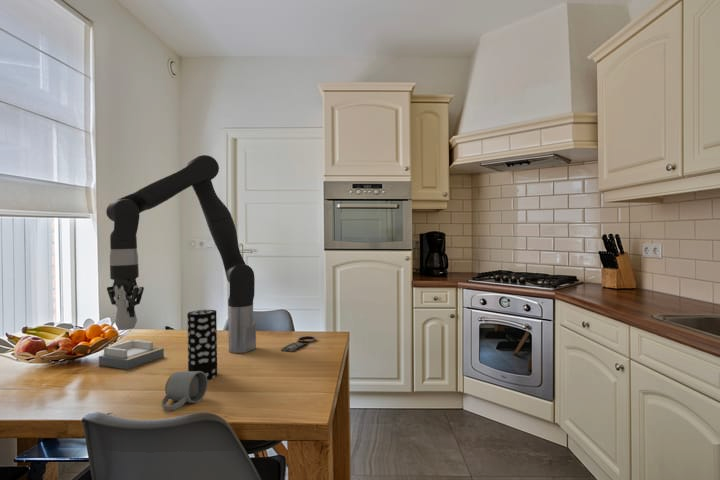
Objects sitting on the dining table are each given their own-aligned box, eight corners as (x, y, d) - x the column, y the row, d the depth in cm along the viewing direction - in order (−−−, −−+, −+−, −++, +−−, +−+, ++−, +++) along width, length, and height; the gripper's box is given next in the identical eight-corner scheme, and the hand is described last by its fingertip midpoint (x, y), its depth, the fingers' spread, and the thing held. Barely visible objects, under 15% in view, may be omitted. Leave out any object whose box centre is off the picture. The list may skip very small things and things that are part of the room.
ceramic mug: (182, 393, 103) (182, 365, 103) (208, 395, 101) (207, 367, 101) (153, 410, 93) (152, 380, 92) (180, 414, 91) (180, 382, 90)
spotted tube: (223, 373, 118) (222, 310, 118) (204, 382, 110) (203, 315, 110) (202, 370, 121) (201, 309, 121) (182, 379, 113) (181, 314, 113)
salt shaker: (141, 326, 119) (140, 285, 118) (128, 330, 113) (127, 288, 113) (124, 326, 119) (123, 286, 119) (110, 330, 113) (109, 288, 113)
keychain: (277, 351, 142) (277, 346, 142) (303, 339, 159) (303, 334, 159) (295, 353, 139) (295, 348, 139) (319, 340, 156) (319, 335, 156)
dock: (163, 356, 136) (163, 341, 136) (127, 369, 123) (127, 352, 123) (136, 353, 141) (136, 338, 141) (99, 364, 128) (98, 349, 128)
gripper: (151, 262, 117) (153, 317, 117) (120, 262, 122) (121, 315, 122) (129, 264, 110) (131, 322, 110) (96, 264, 115) (98, 320, 115)
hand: (126, 318), depth 116 cm, fingers closed on salt shaker, 3 cm apart
